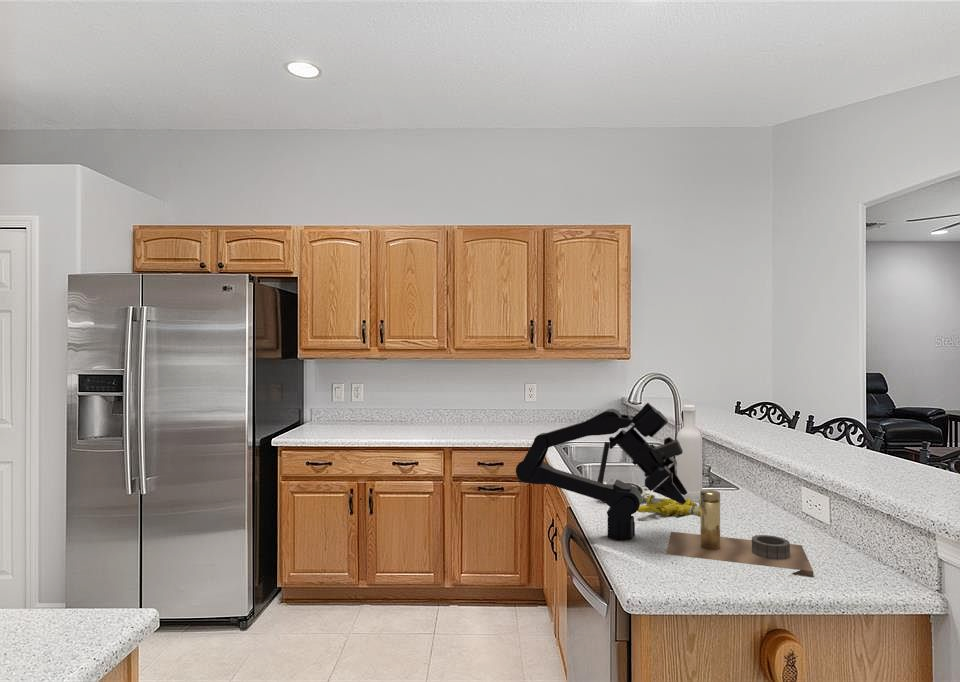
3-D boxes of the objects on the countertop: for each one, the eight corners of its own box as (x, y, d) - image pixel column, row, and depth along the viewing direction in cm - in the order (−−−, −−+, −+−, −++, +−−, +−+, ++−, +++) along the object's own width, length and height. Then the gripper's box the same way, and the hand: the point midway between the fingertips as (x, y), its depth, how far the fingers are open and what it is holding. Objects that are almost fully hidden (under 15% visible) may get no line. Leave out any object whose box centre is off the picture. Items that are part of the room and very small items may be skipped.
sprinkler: (725, 514, 178) (659, 501, 190) (725, 492, 177) (659, 480, 190) (700, 539, 161) (629, 523, 173) (700, 515, 160) (628, 501, 172)
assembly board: (666, 559, 140) (666, 540, 140) (670, 536, 157) (670, 519, 157) (813, 576, 129) (813, 557, 129) (801, 550, 146) (801, 532, 146)
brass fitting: (712, 551, 142) (712, 495, 142) (696, 545, 145) (696, 491, 146) (724, 547, 144) (723, 492, 144) (707, 542, 148) (707, 489, 148)
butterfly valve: (644, 496, 197) (592, 491, 197) (656, 440, 191) (601, 435, 191) (651, 511, 189) (597, 506, 188) (664, 454, 183) (607, 449, 182)
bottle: (708, 500, 192) (708, 406, 193) (688, 503, 189) (688, 407, 190) (690, 495, 200) (690, 403, 200) (671, 497, 197) (671, 404, 197)
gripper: (659, 433, 140) (710, 484, 136) (664, 423, 158) (710, 469, 154) (624, 465, 143) (673, 516, 139) (633, 452, 160) (677, 497, 156)
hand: (685, 498), depth 147 cm, fingers open, 9 cm apart
